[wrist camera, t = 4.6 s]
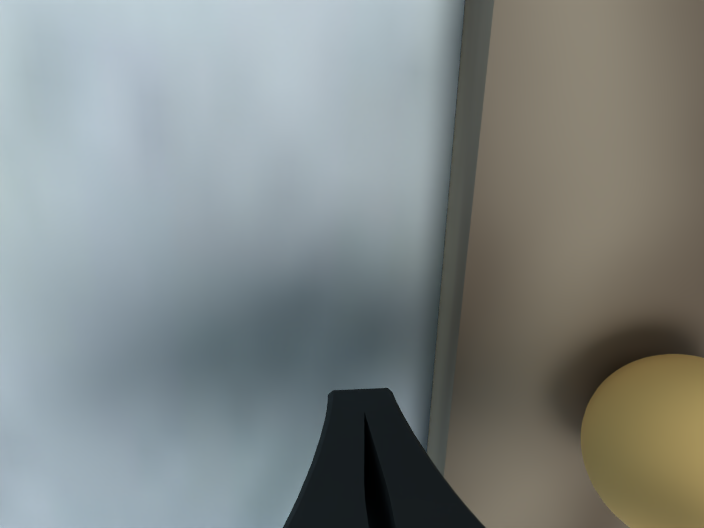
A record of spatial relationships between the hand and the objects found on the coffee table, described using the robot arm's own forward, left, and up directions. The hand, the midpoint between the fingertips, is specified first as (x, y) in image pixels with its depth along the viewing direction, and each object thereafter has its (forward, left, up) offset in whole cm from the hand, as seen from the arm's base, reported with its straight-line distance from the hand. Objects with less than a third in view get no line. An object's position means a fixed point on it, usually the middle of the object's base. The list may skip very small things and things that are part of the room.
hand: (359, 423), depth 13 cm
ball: (+7, 0, +1) cm, 7 cm away
